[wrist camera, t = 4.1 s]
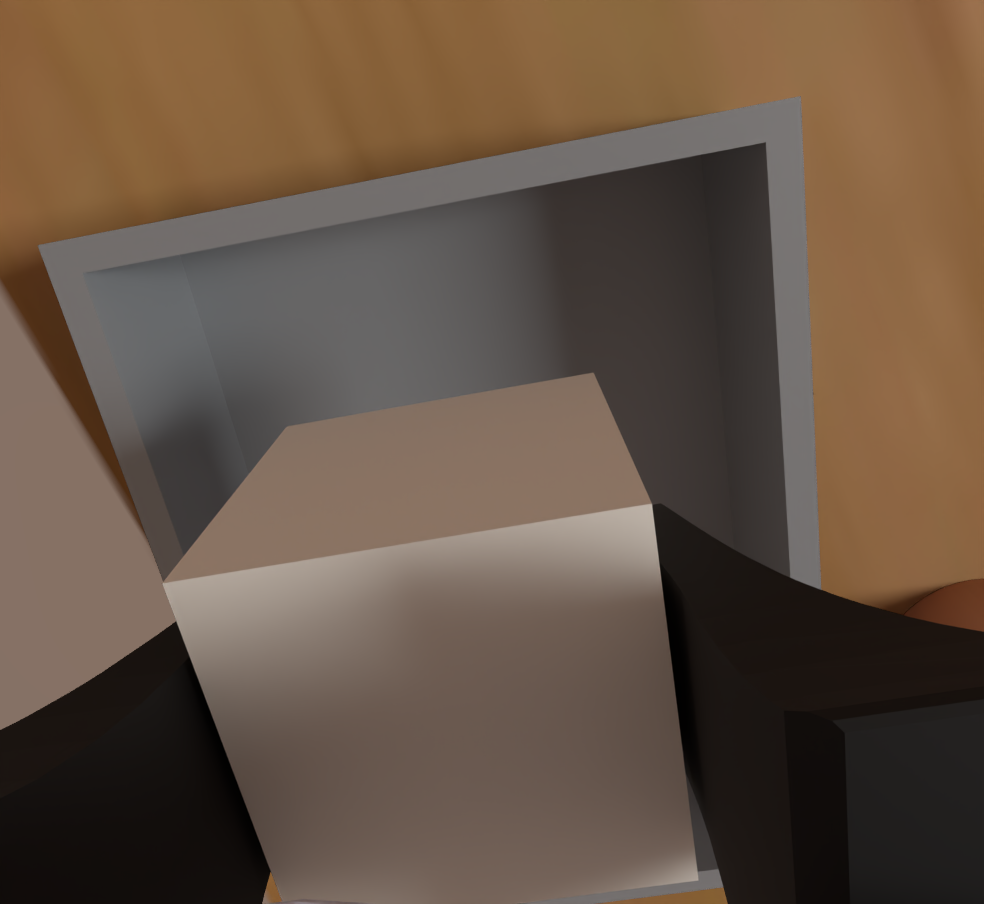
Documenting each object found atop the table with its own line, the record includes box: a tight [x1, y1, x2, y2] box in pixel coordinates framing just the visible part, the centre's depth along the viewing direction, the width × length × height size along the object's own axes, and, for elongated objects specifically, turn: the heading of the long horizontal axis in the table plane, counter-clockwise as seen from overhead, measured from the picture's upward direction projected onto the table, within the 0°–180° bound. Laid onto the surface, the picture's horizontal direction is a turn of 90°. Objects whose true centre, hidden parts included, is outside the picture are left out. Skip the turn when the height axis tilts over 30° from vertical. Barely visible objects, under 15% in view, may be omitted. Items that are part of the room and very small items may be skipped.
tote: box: [38, 96, 821, 904], centre depth 19 cm, size 17×13×5 cm
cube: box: [162, 373, 698, 904], centre depth 11 cm, size 5×5×5 cm
